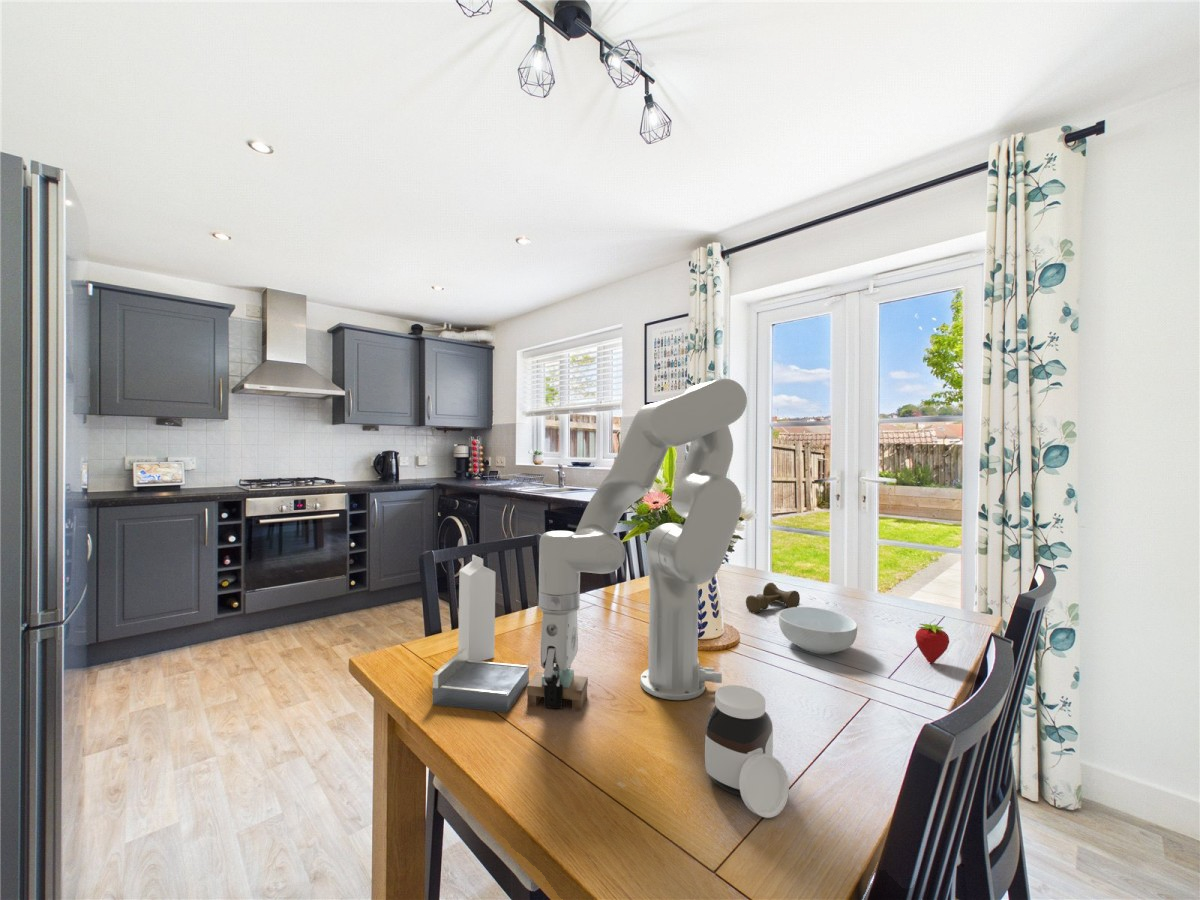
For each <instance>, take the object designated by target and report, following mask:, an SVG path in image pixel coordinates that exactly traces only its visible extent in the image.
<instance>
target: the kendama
mask: <svg viewBox="0 0 1200 900" xmlns="http://www.w3.org/2000/svg"><path fill="white" fill-rule="evenodd" d="M800 599H801V597H800V593H799V591H798V590H789V591H784V590H781V589H779V588H778V586H777V584H775V583H774V582H768V583H766V584H765V586H764V587H763V591H762V594H761V593H759V594H757V595H752V594H750V595H748V596H747V597H746V598H745V606H746V609H747V610H748V611H749V612H750V611H751V612H750V613H752V612H754V613H753V614H759V613H760V612H761V610H767V609H768V608H769V606H770V605H771V604H772V603H774V602H777V601H778V602H780V603H783V604H784V605H785V606H786V607H787V608H792V607H797V606H798V607H799V605H800Z"/></svg>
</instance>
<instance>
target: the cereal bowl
mask: <svg viewBox="0 0 1200 900" xmlns="http://www.w3.org/2000/svg"><path fill="white" fill-rule="evenodd" d="M778 625H779V628H780V629H779V630H780V631H781V633H782V634H783V635H784V637H785V638H786V639H787V640H788V641H789V642H791V643H792V644H794V645H796V646H798V647H799V648H801V649H802V650H804V651H806V652H808V651H809V652H808V653H812V654H815V655H816V654H817V655H829V654H830V653H831V654H833V653H838V652H842V651H844V650H848V649H849V648H850V647H852V645H853V644H854V642H855V641H856V639H857V635H858V634H857V633H858V624H857V622H856V621H855V620H854V619H853V618H851V617H850V616H847V615H845V614H842V613H839V612H837V611H833V610H830V609H823V608H818V607H812V606H811V607H809V606H798V607H792V608H788V607H787V608H785V609H781V610H780V611H779V613H778Z"/></svg>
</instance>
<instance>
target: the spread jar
mask: <svg viewBox="0 0 1200 900" xmlns="http://www.w3.org/2000/svg"><path fill="white" fill-rule="evenodd" d="M714 694H715V695H714V704H715V706H714V707H713V709H712V710H711V713H710V715H709V717H708V720H707V723H706V728H705V739H704V740H705V741H704V765H705V767H704V768H705V771H706V773H707V776H708V777H709V778H710V779H711V780H712V781H713V782H714V783H715V784H716V785H717V786H719V787H720V788H721V789H723V790H725V791H726V792H728V793H731V794H733V795H737V796H741V799H742V801H743V803H744V805H745V806H746V807H747V809H748V810H750V811H751V812H752V813H754V814H756V815H758V816H760V817H762V818H766V819H768V818H774V817H776V816H778V815H779V814H781V812H782V811H783V810H784V808H785V807H786V805H787V801H788V797H789V792H790V791H789V790H790V789H789V788H790V786H789V779H788V778H789V777H788V775H787V771H786V769H785V767H784V765H783V764H782V763H781V762H780V761H779V759H778V758H776V757H774V756H773V755H774V754H773V753H774V750H773V749H774V747H773V746H774V745H773V744H774V730H773V721H772V719H771V717H770V715H769V714H768V712H767V711H766V698H765V697H764V695H763V694H762V693H761V692H759V691H757V690H755V689H753V688H751V687H747V686H743V685H734V684H731V685H730V684H729V685H724V686H721V687H718V688H717V689H716V691H715V692H714Z"/></svg>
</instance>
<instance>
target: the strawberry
mask: <svg viewBox="0 0 1200 900" xmlns="http://www.w3.org/2000/svg"><path fill="white" fill-rule="evenodd" d="M935 620H937V619H936V618H935V619H933V620H932V621H930V623H929V624H928V623H919V625H921V626H918V629H917V631H916V633H915V637H914V638H915V642H916V645H917V647H918V649H919V651H920V652H921V654H922V655H923V657H924V658H925V660H926V661H927V662H928V663H929V662H930V663H929V664H934V663H935V662H937V660H938V659H939V658H941V657H942V656H943V655H944V653H945V652H946V651H947V649H948V647H949V644H950V638H949V635H948V634H947V633H946V631H944V630H942V629H944V627H942V626H939V625H938V626H937V624H935V623H934V624H932V622H935Z"/></svg>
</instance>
